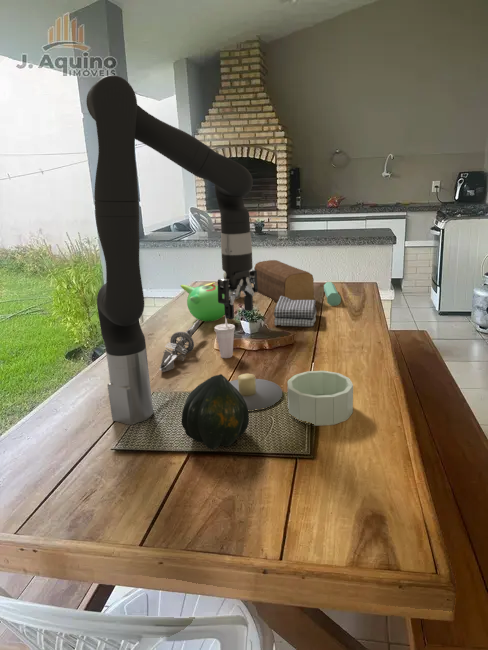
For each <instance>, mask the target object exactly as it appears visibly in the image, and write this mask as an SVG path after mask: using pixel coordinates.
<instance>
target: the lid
mask: <svg viewBox="0 0 488 650" xmlns="http://www.w3.org/2000/svg"><path fill="white" fill-rule="evenodd" d="M229 382H230V383H231V384H232V385H233V386H234V387H235V388H236V389H237V390H238V391H239V392H240V394H241V395H242V396H243V398H244V400H245V402H246V404H247V408H248V410H255V409H261V408H266V407H269V406H271V407H273V406H275V405H276V404H275V403H276V402H278V401H279V400H280V398H281V397H283V390H282V387H280V385H278V384H277V383H275V382H273V381H270V380H267V379H264V378H256V376H255V374H252V373H242V374H240V375H238V377H237V379H234V380H229ZM281 399H282V398H281ZM280 401H281V400H280ZM280 401H279V402H280ZM279 402H278V403H279ZM274 404H275V405H274ZM272 405H273V406H272ZM269 408H270V407H269ZM266 409H267V408H266Z"/></svg>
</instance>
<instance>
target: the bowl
mask: <svg viewBox="0 0 488 650" xmlns="http://www.w3.org/2000/svg"><path fill="white" fill-rule="evenodd" d="M287 409H289V410H288V414H289V413H290V414H291V415H292V416H294V417H296V418H297V419H299V420H302V421H307V422H310V423H312V424H314V425H313V426H315V427H317V426H335V425H337V424H341V423H343V422H345V421H348V420H349V418H350V417H351V415H352V414H353V413H354V384H353V382H352V380H351V379H350V377H348V376H345V374H342V373H340V372H333V371H330V370H329V371H327V370H308V371H304V372H300V373H297V374H294V375H293V376H292V377H291V378H290V379H288V380H287Z"/></svg>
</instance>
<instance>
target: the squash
mask: <svg viewBox="0 0 488 650" xmlns="http://www.w3.org/2000/svg"><path fill="white" fill-rule="evenodd" d="M181 413H182V414H181V421H180V422H181V426H182V427H183V429H184V431H185V434H186V436H188V437H189V438H190V439H192V440H194V441H195V442H198V443H203V444H204V445H205V447H206V448H207V449H209V450H216V449H218V448H219V447H220V446H222V447H229V446H231V445H232V444H234V443H235V442H236V441H237V439H238V438H240V437H241V436H243V435H244V434H245V432H246V430H248V429H247V428H248V427H249V421H250V417H249V416H250V415H249V412H248V408H247V404H246V402H245V400H244V398H243V396H242V395H241V394H240V392H239V391H238V390H237V389H236V388H235V387H234V386H233V385H232V384H231V383H230V380H229V379H227V378H226V377H225V376H224V375H223V374H222V373H220V374H217V375H216V374H215V375H212V376H211V377H209V378H207V379H206V380H205V381H203V382H201V383H200V384H198V385H197V386H196V387H195V388H194V389H193V390H191V392H190V393H189V394H188V396H187V398H186V400H185V402H184V405H183V407H182V412H181Z"/></svg>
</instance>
